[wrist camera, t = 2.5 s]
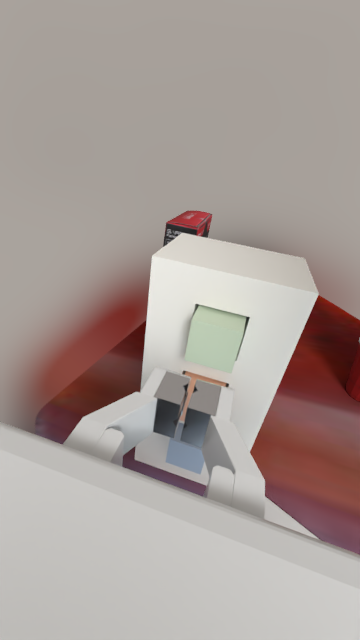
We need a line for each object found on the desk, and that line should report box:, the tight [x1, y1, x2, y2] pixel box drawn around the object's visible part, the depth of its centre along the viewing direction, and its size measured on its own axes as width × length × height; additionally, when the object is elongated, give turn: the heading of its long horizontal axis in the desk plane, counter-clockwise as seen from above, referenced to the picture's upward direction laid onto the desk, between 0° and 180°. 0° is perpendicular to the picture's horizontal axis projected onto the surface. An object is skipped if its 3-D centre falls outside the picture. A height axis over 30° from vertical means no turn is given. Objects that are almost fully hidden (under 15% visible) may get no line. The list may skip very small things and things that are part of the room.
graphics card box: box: [163, 211, 212, 247], centre depth 64 cm, size 17×7×27 cm, turn 166°
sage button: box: [184, 305, 246, 373], centre depth 26 cm, size 5×4×4 cm
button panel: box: [134, 233, 318, 486], centre depth 35 cm, size 10×14×30 cm
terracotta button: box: [180, 371, 226, 422], centre depth 30 cm, size 5×4×4 cm
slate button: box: [166, 422, 204, 474], centre depth 34 cm, size 5×4×4 cm
